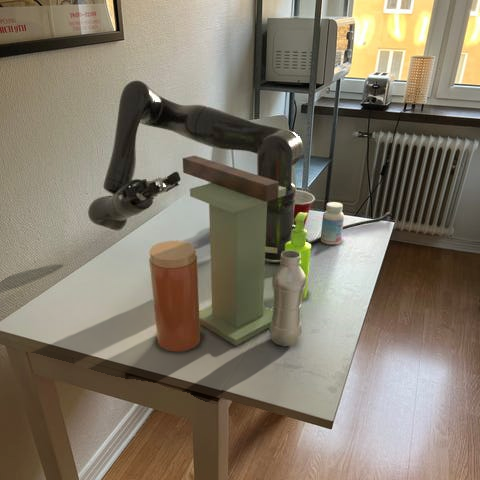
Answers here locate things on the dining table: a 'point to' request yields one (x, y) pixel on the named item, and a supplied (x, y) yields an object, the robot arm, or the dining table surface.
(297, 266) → the plastic bottle
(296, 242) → the soap dispenser
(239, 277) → the plant stand
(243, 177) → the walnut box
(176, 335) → the terracotta jar
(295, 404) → the dining table surface
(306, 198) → the plastic cup
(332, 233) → the pill bottle
